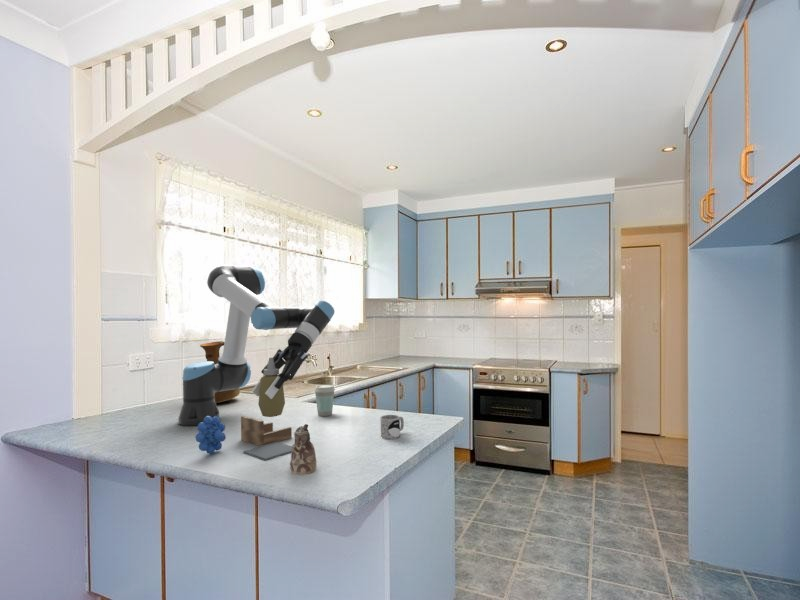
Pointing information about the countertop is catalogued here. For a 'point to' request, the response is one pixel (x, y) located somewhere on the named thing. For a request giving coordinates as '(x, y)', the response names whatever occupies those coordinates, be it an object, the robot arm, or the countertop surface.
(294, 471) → the figurine
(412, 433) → the countertop surface
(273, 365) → the squeeze bottle
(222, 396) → the ceramic pitcher
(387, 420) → the mug
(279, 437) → the brown wooden frame
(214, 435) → the grapes
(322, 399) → the coffee cup
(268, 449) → the rubber mat
